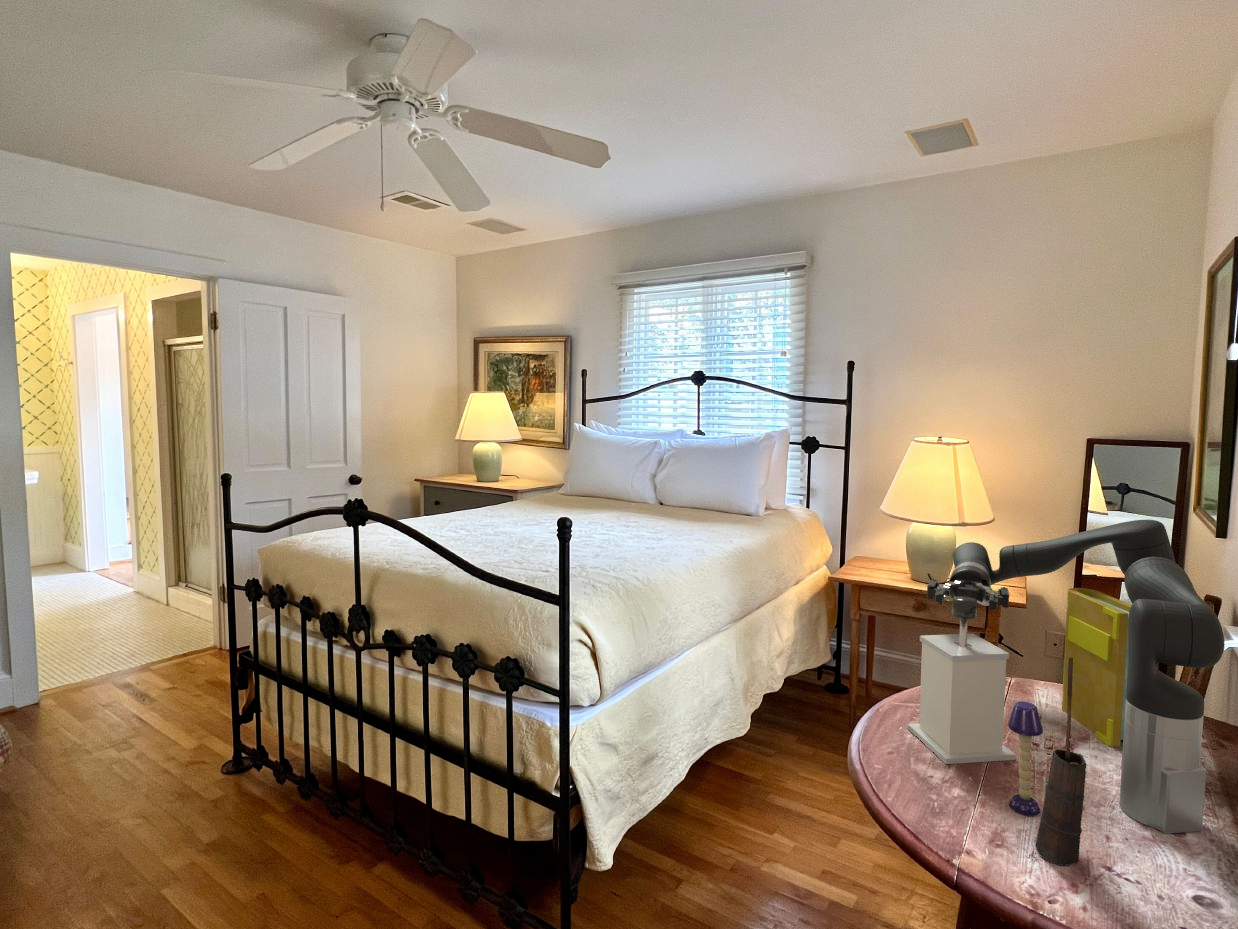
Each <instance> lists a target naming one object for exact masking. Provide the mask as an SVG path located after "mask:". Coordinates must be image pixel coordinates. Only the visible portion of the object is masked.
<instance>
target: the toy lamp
mask: <svg viewBox="0 0 1238 929" xmlns="http://www.w3.org/2000/svg"><path fill="white" fill-rule="evenodd" d="M1007 724H1008V725H1007V726H1008V728H1009V729H1010V731H1012V732H1013V733H1015V734H1018V737H1019V741H1018V747H1019V749H1018V757H1019V759H1018V766H1019V769H1018V776H1019V777H1018V778H1019V779H1018V786H1019V788H1018V794H1015V795H1013V796H1011V798H1010V800H1009V801H1008V807H1009V808H1010V809H1011V810H1012V811H1013V812H1015V813H1017V814H1019V815H1021V816H1026V817H1038V816H1039V815H1041V807H1040V804H1039V803H1038V802H1037V800H1036V799H1034V798H1033V797H1032V795H1033V793H1032V790H1031V788H1032V786H1033V784H1032V780H1031V779H1032V776H1033V775H1032V771H1031V770H1032V761H1031V760H1032V756H1033V754H1032V748H1033V747H1032V746H1033V744H1032V738H1033V737H1037V736H1041V735H1042V734H1043V733H1044V728H1043V727H1044V726H1043V724H1042V720H1041V717H1040V713H1039V711H1038V707H1037V706H1036V705H1035V704H1033V703H1032V702H1029V701H1023V700H1021V701H1019V700H1018V701H1017V702H1015V703H1014V705H1013V707H1012V711H1011V713H1010V717H1009V719H1008V723H1007Z"/></svg>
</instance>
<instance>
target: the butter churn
mask: <svg viewBox="0 0 1238 929" xmlns="http://www.w3.org/2000/svg"><path fill="white" fill-rule="evenodd" d="M1072 673H1073V658H1072V657H1070V658H1069V661H1068V691H1067V697H1068V698H1067V714H1066V730H1065V731H1066V734H1065V735H1066V737H1065V738H1066V741H1065V749H1062V748H1061V749H1059V748H1057V749H1054V750H1053V752H1052V755H1051V756H1052V757H1051V760H1050V766H1049V772H1048V773H1049V774H1048V779H1047V784H1046V786H1045V794H1044V799H1043V805H1042V810H1041V814H1040V818H1039V825H1038V830H1037V834H1036V840H1035V848H1036V850H1037V854H1038V855H1039V856H1040V857H1042V858H1043V859H1045V860H1047V861H1048V862H1051V863H1053V864H1056V865H1059V866H1064V867H1067V866H1069V865H1075V863H1079V861H1080V849H1081V848H1080V845H1081V834H1082V833H1083V831H1082V817H1083V809H1084V801H1085V787H1086V775H1087V772H1086V771H1087V770H1086V769H1087V763H1086V760H1085V758H1084V756H1083V755H1082V753H1078V752H1074V751H1072V750H1071V745H1072V744H1071V743H1072V742H1071V740H1070V739H1071V738H1072V735H1071V732H1072V731H1071V730H1072V717H1071V700H1072Z"/></svg>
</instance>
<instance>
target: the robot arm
mask: <svg viewBox="0 0 1238 929" xmlns="http://www.w3.org/2000/svg"><path fill="white" fill-rule="evenodd" d="M1170 541H1171V540H1170V539H1169V536H1168V531H1167V529H1166V526H1165V525H1164V523H1162V521H1158V520H1155V519H1135V520H1127V521H1123V522H1118V523H1115V524H1110V525H1105V526H1102V527H1098V528H1094V529H1089V530H1085V531H1081V532H1076V533H1073V534H1069V535H1065V536H1062V537H1057V538H1052V539H1048V540H1043V541H1035V542H1028V543H1019V544H1012V545H1005V546H1002V548H1001V549H1000V550H999V553H998V554H999V556H998V560H999V566H998V568H997V569H994V570H993V567H992V564H991V560H990V558H989V553H988V550H987V548H986V547H985V546H984V545H983V544H981V543H979V542H972V541H971V542H965V543H963V544H960V545H958V546H957V547H956V548H955V549H954V551H953V553H952V560H953V566H954V569H953V571H952V572H951V574H950V578H949V580H948V582H945V583H944V584H941V583H940V582H939V580H938V579H934V578H933V579H931V580H930V582H928V584H927V585H926V587H927V588H926V589H927V590H926V598H927V599H929V600H930V599H934V602H936V603H938V605H940V606H943V605H944V601H947V602H951V603H952V598H953V597H956V596H964V597H970V598H974V599H976V600H977V606H978V605H981V606H984V607H985V606H986V607H987V606H988V611H989V612H994V610H998V608H999V606H1001V608H1005V609H1008V608H1009V607H1010V604H1009V602H1010V590H1009V589H1008V587H1005V586H1002V587H1000V588H998V589H997V590H995V589H993V588H992V586H993V585H994V584H998V583H1000V582H1003V581H1006V580H1011V579H1015V578H1023V577H1032V576H1041V575H1047V574H1049V573H1050V574H1052V573H1053V572H1056V571H1058V570H1059V569H1061V568H1063V567H1065V566H1066V565H1067V564H1069V563H1070V562H1071V561H1073V560H1074V559H1075V558H1076V557H1078V556H1079V555H1081V554H1082V553H1084V552H1085V551H1088V550H1089V549H1092V548H1095V547H1098V546H1101V545H1105V544H1111V546H1112V548H1113V552H1114V555H1115V557H1116V563H1117V566H1118V567H1119V569H1120V571H1121V573H1122V574H1123V575H1124V578H1123V579H1124V581H1123V582H1124V588H1125V591H1126V593H1127V596H1128V599H1129V600H1130V602H1131V603H1130V604H1131V608H1130V611H1129V617H1128V676H1127V690H1126V706H1125V720H1124V736H1123V740H1122V757H1121V769H1120V770H1121V771H1120V790H1119V791H1120V792H1119V802H1118V803H1119V807H1120V808H1121V810H1122V811H1123V812H1124V813H1125V814H1126V815H1127V816H1129V817H1131V818H1132V819H1134V820H1135V821H1137V822H1139V823H1141V824H1144V825H1146V826H1149V827H1151V828H1154V829H1157V830H1158V831H1160V832H1162V833H1164V834H1176V833H1191V832H1192V833H1193V832H1202V831H1203V825H1204V824H1203V822H1204V812H1205V811H1204V810H1205V795H1206V781H1207V770H1206V769H1205V768H1204V767H1203V766H1201V756H1202V742H1203V740H1202V739H1203V729H1204V728H1203V726H1204V714H1205V700H1204V697H1203V695H1202V693H1200V692H1199V690H1196V689H1195V688H1194V687H1192V686H1190V685H1188V684H1186V683H1184V682H1181V681H1179V680H1177V679H1175V678H1173V677H1170V676H1168V675H1167V674H1166V673H1164V672H1162V671H1161V670H1159V669H1158V668H1157V667H1156V666H1155V665H1156V663H1158V664H1159V663H1160V664H1164V665H1165V664H1166V665H1172V666H1178V667H1187V668H1192V669H1203V668H1204V669H1205V668H1210V667H1213V666H1215V665H1216V664H1218V663H1219V661H1220V660H1221V659H1222V657H1223V654H1224V651H1225V646H1226V645H1225V635H1224V630H1223V627H1222V624H1221V622H1220V619H1219V618H1218V615H1217V613H1216V612H1215V611H1214V610H1213V609H1212V607H1211V606H1210V605H1209V604H1208V603H1207V602H1205V600H1203V599H1202V597H1200V595H1199V594H1198V593H1197V591H1196V589H1195V587H1194V585H1193V582H1192V581H1191V579H1190V577H1189V575H1188V573H1187V572H1186V571H1185V569H1184V568H1183V567H1181V566H1180V565H1179V564H1178V563H1176V559H1175V556H1174V555H1175V554H1174V552H1173V547H1172V545H1171V542H1170Z"/></svg>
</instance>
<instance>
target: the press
mask: <svg viewBox="0 0 1238 929" xmlns="http://www.w3.org/2000/svg"><path fill="white" fill-rule="evenodd" d="M959 638H960V633H952V634H951V633H950V634H929V635H928V634H925V635H919V641H920V642H921V660H920V661H921V662H920V663H921V667H920V669H921V670H920V694H919V696H920V697H919V720H918V721H919V723H907V730H908V729H909V730H910V731H911V732H912V733H913V734H912V733H911V732H910V731H909V730H908V731H909V732H910V733H911V734H912V735H913V736H915V737H916V736H917V737H918V738H919V739H918V738H917V737H916V738H917V739H918V740H919V741H920V740H921V741H922V742H923V743H924V744H925V745H924V744H923V743H922V742H921V741H920V742H921V743H922V744H923V745H924V746H926V748H928V750H930V752H932V753H933V752H934V753H935V754H936V755H937V756H936V755H935V754H934V753H933V754H934V755H935V756H936V757H937V758H939V759H940V760H941V761H942V763H944V764H945V765H953V764H966V763H967V764H968V763H970V764H971V763H985V762H986V763H988V762H1001V761H1002V762H1003V761H1015V760H1016V756H1017V754H1016V753H1015V752H1013V751H1012V750H1010V748H1008V747H1007V746H1005V745H1004V744H1003V743H1004V723H1005V722H1004V719H1005V697H1006V696H1005V694H1006V675H1007V660H1009V659H1010V653H1009V652H1007V651H1005V649H1002V648H1000V647H998V646H996V645H995V644H993V643H991V642H990V641H988V640H986V639H985V638H982V637H981V636H978V635H977V634H974V633H967V647H960V646H959Z"/></svg>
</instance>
